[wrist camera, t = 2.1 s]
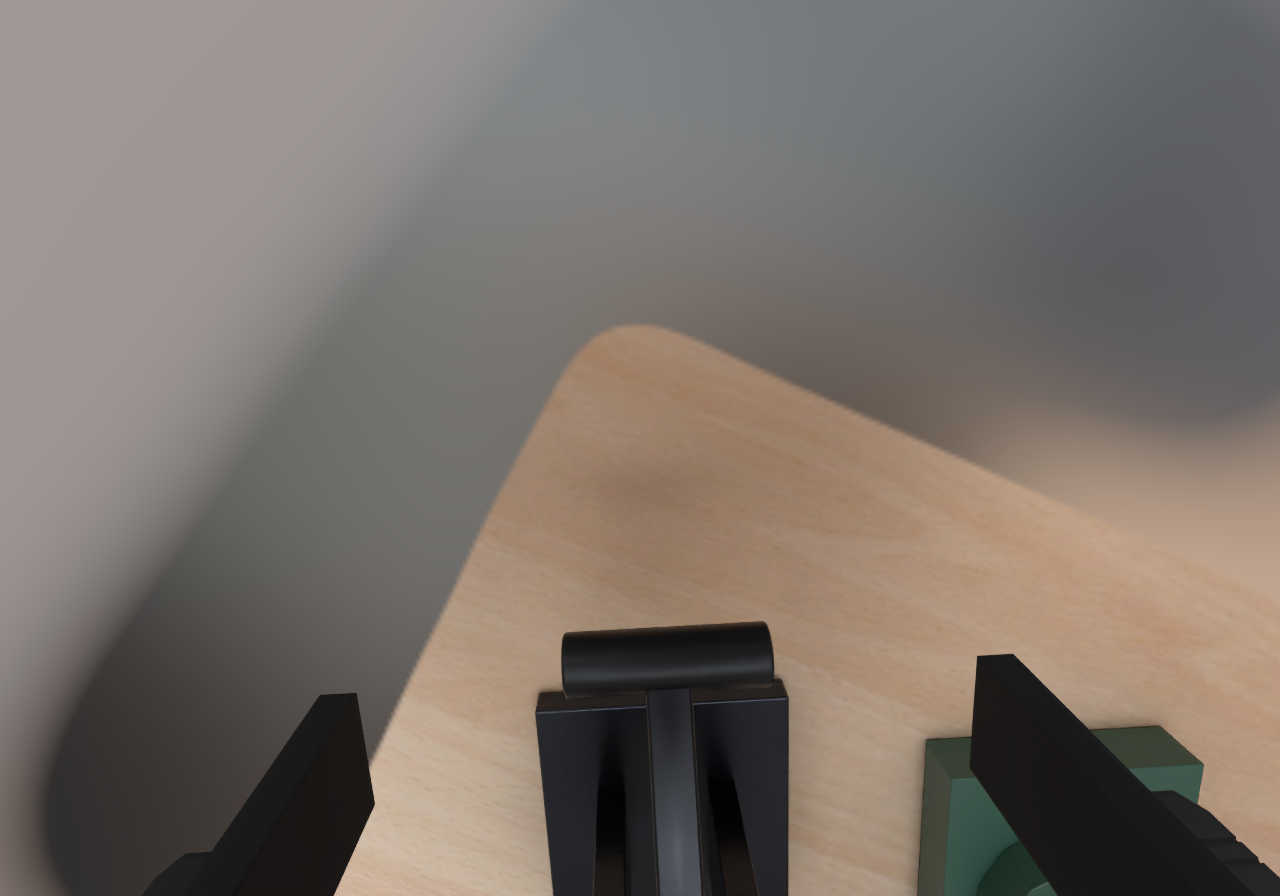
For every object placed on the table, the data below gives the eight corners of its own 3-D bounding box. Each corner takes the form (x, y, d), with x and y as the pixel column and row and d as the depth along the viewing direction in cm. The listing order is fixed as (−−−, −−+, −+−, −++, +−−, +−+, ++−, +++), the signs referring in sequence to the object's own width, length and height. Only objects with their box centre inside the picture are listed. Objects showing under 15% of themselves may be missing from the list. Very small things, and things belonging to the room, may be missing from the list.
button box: (926, 739, 28) (975, 817, 24) (1160, 725, 28) (1247, 801, 24) (913, 966, 31) (955, 1068, 27) (1125, 953, 31) (1198, 1053, 27)
